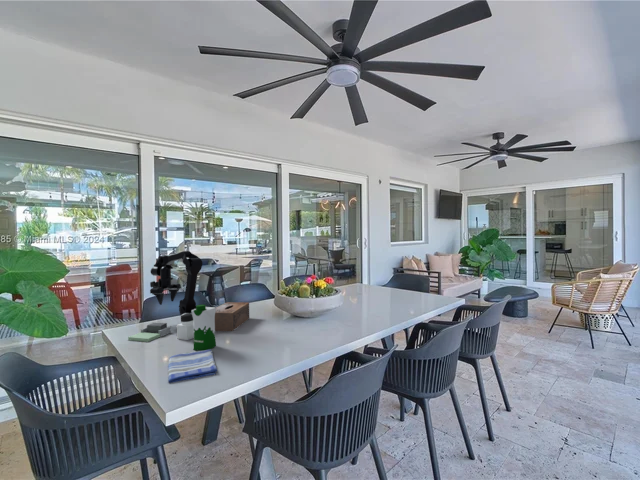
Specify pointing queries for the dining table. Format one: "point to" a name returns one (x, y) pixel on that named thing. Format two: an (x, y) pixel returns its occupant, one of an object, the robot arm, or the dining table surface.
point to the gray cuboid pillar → (156, 327)
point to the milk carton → (204, 327)
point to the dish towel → (191, 366)
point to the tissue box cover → (231, 315)
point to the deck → (148, 335)
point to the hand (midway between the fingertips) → (166, 302)
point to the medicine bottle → (185, 327)
